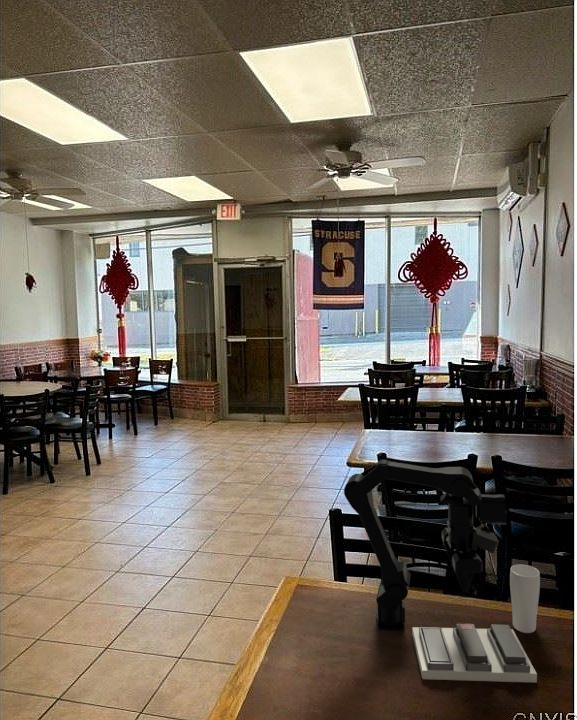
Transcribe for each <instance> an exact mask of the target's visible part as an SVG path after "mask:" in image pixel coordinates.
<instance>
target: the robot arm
mask: <svg viewBox="0 0 577 720" xmlns="http://www.w3.org/2000/svg"><path fill="white" fill-rule="evenodd" d="M385 480H392V481H398V482H401V483H402V482H403V483H409V484H414V485H422V486H426V487H432V488H435V489H437V490H439V491H441V492H444V494H442V495H441V496H440V503H441V504H443V505H445V504H447V505H448V508H447V510H448V512H447V515H448V517H447V518H448V520H446V526H447V527H444V528H443V530H441V540H442V544H443V546H444V548H445V551H446V553H447V556H448V559H449V561H450V563H451V565H452V568H453V571H454V573H455V575H456V578H457V580H458V583H459V585H460V588H461V590H462V592H463V593H468V592H469V589H470V585H471V582H472V580H473V577H474V575H475V574H479V573H482V572H484V563H483V561H482V559H481V557H480V556H479V554H478V553H476V552H471V550H472V551H478V548H479V549H481V550H484V551H487V552H489V553H490V554H495V552H496V549H497V547H498V545H499V543H500V541H499V540H498V538H497V536H496V535H495V534H494V533H493V532H491V531H490V528H489V527H488V525H486V524H494V525H507V520H508V513H507V510H506V509H507V507H506V497H505V495H504V494H486V493H485V494H484V493H481V490H480V489H479V488H478V486H476V484H475V483H474V479H473V475H472V474H471V472H470V471H469V469H468V468H466V467H463V466H445V467H438V468H437V467H436V468H435V467H429V466H428V467H427V466H421V465H415V464H411V463H410V464H409V463H402V462H397V461H392V460H391V461H390V460H387V459H381V460H378V462H376V463H375V464H374V465H372V466H370V467H369V468H367V469H364V471H362V472H361V473H354V474H353V475H351V476H350V477H349V479H348V481H347V482H346V485H345V486H344V488H343V494H344V497H345V499H346V500H347V502H348V504H349V505H350V506H351V508H352V510H354V511H355V513H357V514H358V515H359V518H360V520H361V523H362V526H363V528H364V530H365V533H366V535H367V537H368V540H369V543H370V544H371V546H372V549H373V552H374V554H375V556H376V558H377V561H378V564H379V566H380V571H381V572H380V573H381V574H380V575H381V579H382V581H380V582H379V584H378V585H379V586H378V590H377V594H376V598H375V601H376V615H375V617H376V623H377V629H378V630H392V631H393V630H394V631H395V630H396V631H398V630H399V631H402V630H405V627H404V626H405V625H404V624H405V623H406V607H405V603H404V602H403V601H405V599H406V598H407V596H408V594H409V587H410V580H411V576H412V575H411V572H410V571H409V570H408V568H407V563H406V560H404V559H403V560H402V561H400V560H398V558H397V557H396V556H395V553H394V551H393V549H392V547H391V544H390V541H389V539H388V537H387V534H386V532H385V530H384V527H383V525H382V523H381V520H380V518H379V515H378V512H377V510H376V508H375V506H374V505H375V504H374V495H373V490H374V489H375V488H376V487H377V486H379V484H381V483H382V482H383V481H385ZM474 506H475V518H476V519H478V521H479V522H480V523H481V524H480V525H479V526H477V527H475V526H474Z"/></svg>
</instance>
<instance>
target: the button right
mask: <svg viewBox="0 0 577 720" xmlns="http://www.w3.org/2000/svg"><path fill="white" fill-rule="evenodd" d="M490 629H491V632H492V634H493V636H494V638H495V640H496V642H497V644H498V646H499V649H500V651H501V653H502V655H503V657H504V659H505V661H506V663H513V664H526V657H525V655H524V653H523V651H522V649H521V648H520V646H519V644H518V642H517V640H516V638H515V636H514V634H513V633H512V631H511V627H510V625H509V624H490Z"/></svg>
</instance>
